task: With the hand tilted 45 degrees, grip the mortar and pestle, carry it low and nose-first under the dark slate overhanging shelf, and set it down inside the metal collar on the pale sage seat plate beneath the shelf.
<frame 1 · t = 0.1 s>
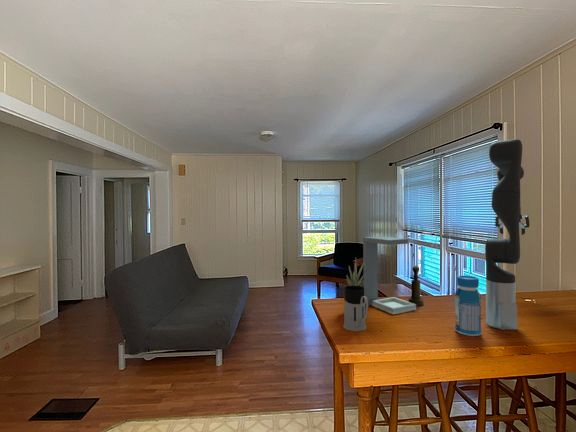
hand: (512, 234, 161), 31 cm above the table, tool tilted 20°, fingers open, 8 cm apart
overhang shelf: (393, 307, 141), on the table
beverage bottle: (467, 332, 112), on the table
potted plant: (355, 313, 134), on the table
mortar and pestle: (416, 304, 147), on the table
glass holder: (358, 329, 116), on the table
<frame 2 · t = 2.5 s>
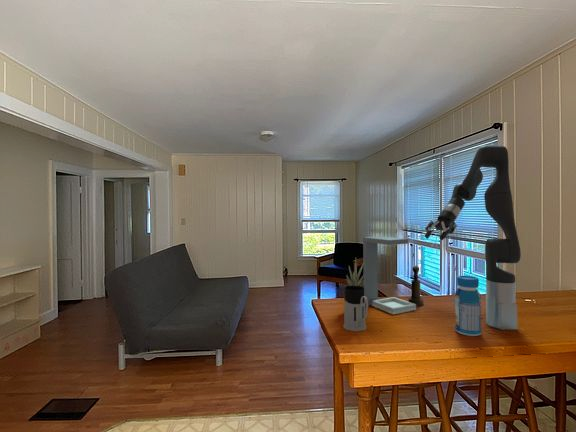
hand: (433, 238, 152), 31 cm above the table, tool tilted 45°, fingers open, 8 cm apart
nothing on the table moved.
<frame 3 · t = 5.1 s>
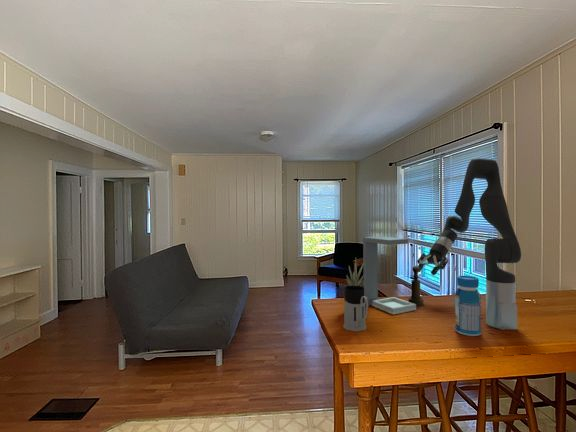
hand: (424, 272, 149), 14 cm above the table, tool tilted 45°, fingers open, 8 cm apart
nothing on the table moved.
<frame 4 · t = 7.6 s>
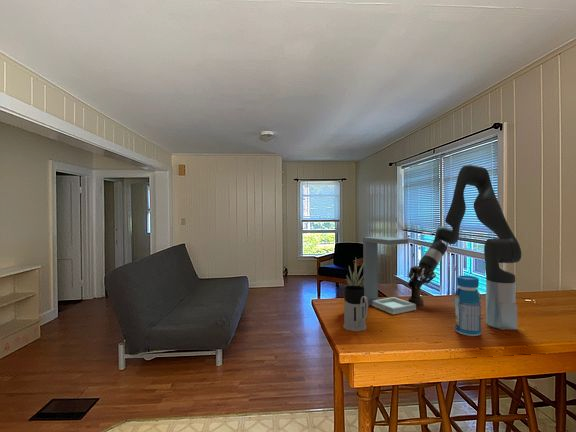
hand: (412, 287, 146), 8 cm above the table, tool tilted 45°, fingers closed on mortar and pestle, 4 cm apart
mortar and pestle: (416, 304, 147), on the table, touching gripper
everything else where it was.
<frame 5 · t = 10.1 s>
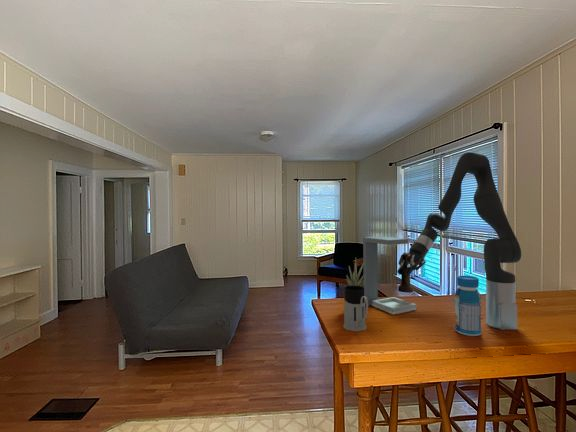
hand: (402, 274, 143), 15 cm above the table, tool tilted 45°, fingers closed on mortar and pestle, 4 cm apart
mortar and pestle: (405, 291, 144), point 7 cm above the table, touching gripper
everything else where it was.
when the fingers open (10 cm above the table, at t = 12.9 s): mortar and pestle drops 1 cm, resting on overhang shelf.
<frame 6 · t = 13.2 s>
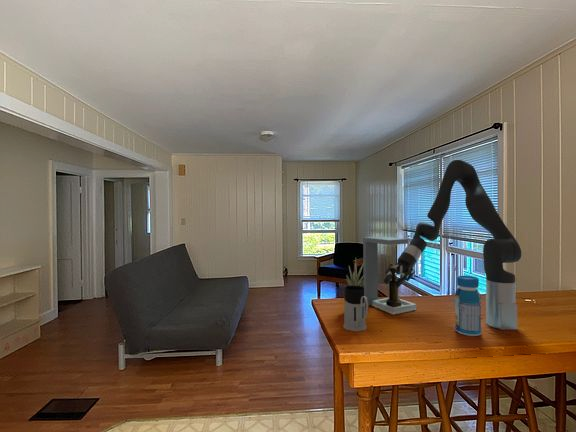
hand: (390, 284, 140), 11 cm above the table, tool tilted 45°, fingers open, 6 cm apart
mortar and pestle: (393, 306, 141), point 1 cm above the table, touching overhang shelf
everything else where it was.
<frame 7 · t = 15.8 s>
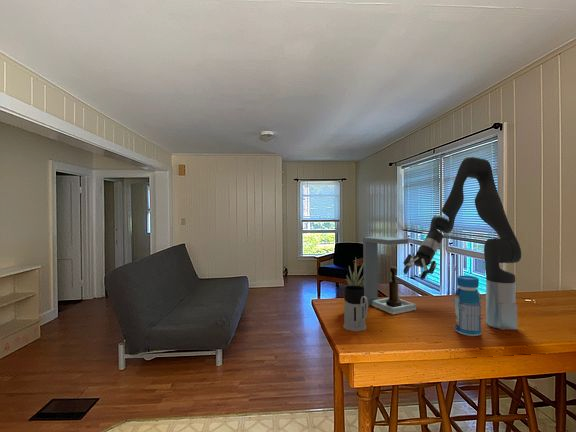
hand: (412, 276, 147), 13 cm above the table, tool tilted 40°, fingers open, 8 cm apart
nothing on the table moved.
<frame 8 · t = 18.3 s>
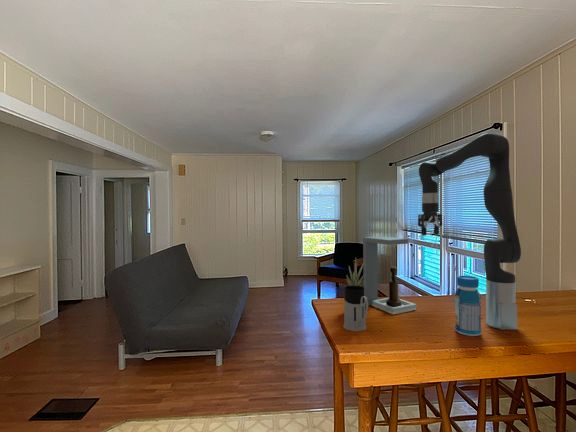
hand: (430, 235, 154), 32 cm above the table, tool pointing down, fingers open, 8 cm apart
nothing on the table moved.
at the end: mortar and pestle 0.1 cm off-centre on the overhang shelf, point 0.8 cm above the overhang shelf's base; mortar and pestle tilted 0°; the gripper is holding nothing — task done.
